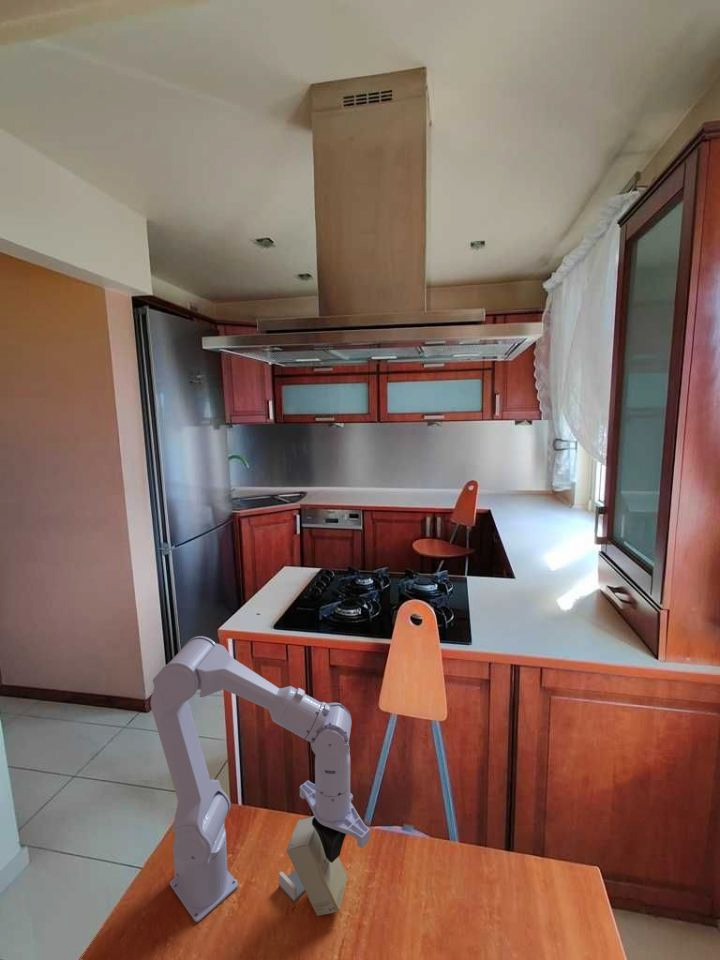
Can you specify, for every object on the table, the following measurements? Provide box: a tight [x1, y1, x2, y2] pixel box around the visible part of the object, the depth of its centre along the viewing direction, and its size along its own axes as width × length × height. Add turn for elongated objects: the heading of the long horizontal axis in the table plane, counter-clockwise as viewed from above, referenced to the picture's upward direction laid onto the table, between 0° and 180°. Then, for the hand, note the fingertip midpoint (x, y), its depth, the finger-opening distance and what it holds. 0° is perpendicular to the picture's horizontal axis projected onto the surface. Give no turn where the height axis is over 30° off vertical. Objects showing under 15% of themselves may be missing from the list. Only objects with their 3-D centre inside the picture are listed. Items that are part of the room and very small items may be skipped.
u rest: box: [278, 869, 306, 903], centre depth 81 cm, size 4×10×3 cm, turn 138°
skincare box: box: [286, 815, 349, 917], centre depth 76 cm, size 6×4×12 cm
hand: (333, 856), depth 76 cm, fingers closed
